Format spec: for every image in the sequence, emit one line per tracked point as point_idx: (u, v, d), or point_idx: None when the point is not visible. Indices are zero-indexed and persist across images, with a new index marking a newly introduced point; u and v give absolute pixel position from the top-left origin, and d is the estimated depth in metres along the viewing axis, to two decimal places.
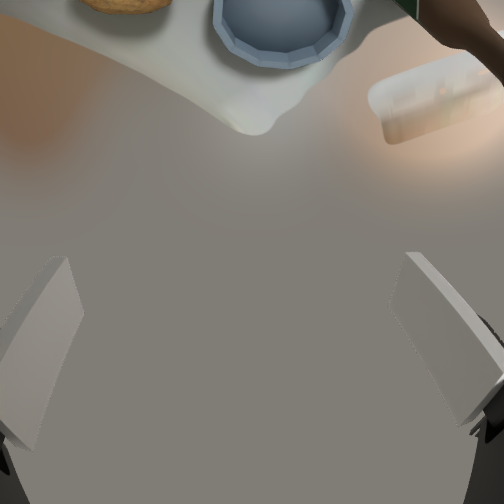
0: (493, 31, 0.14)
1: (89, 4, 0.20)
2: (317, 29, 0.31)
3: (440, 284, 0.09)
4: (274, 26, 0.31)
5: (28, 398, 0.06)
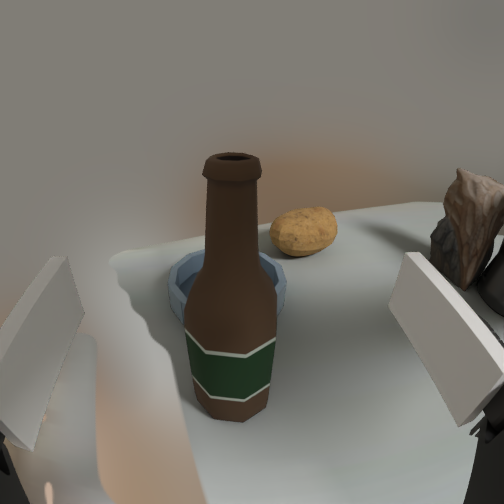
0: (256, 242, 0.21)
1: None
2: None
3: (440, 284, 0.09)
4: None
5: (28, 398, 0.06)
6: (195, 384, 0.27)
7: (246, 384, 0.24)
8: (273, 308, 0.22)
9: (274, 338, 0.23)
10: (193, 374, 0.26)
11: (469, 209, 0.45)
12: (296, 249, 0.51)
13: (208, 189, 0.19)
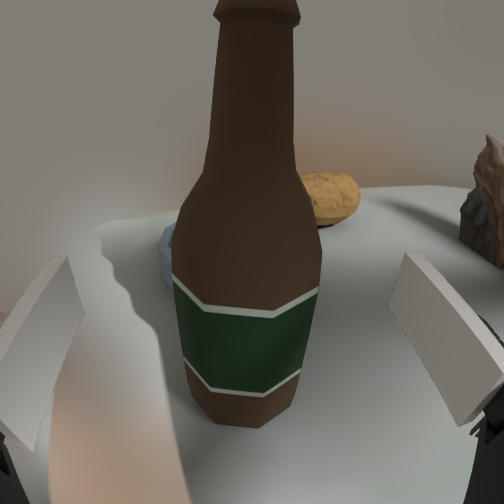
0: None
1: None
2: None
3: (440, 284, 0.09)
4: None
5: (28, 398, 0.06)
6: (188, 371, 0.18)
7: (269, 368, 0.15)
8: (318, 233, 0.14)
9: (316, 288, 0.14)
10: (185, 355, 0.18)
11: (502, 177, 0.36)
12: (315, 215, 0.43)
13: (221, 34, 0.10)
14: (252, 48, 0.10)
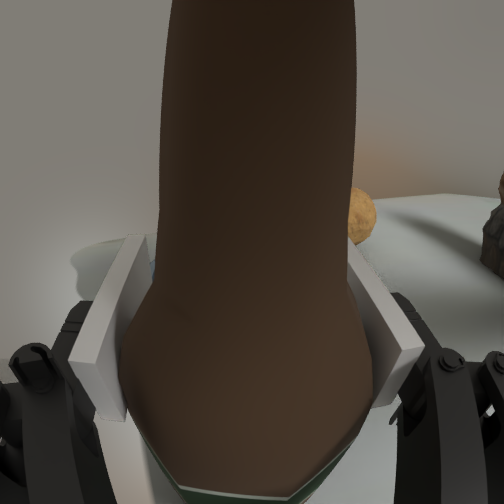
0: None
1: None
2: None
3: (355, 261, 0.10)
4: None
5: None
6: (172, 485, 0.12)
7: None
8: None
9: (354, 439, 0.08)
10: (166, 476, 0.11)
11: None
12: None
13: None
14: None
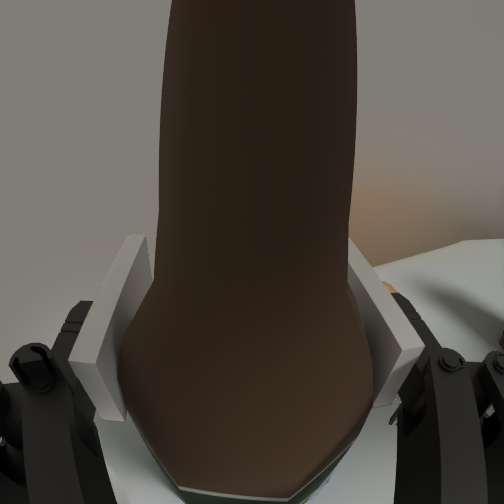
0: None
1: None
2: None
3: (355, 261, 0.10)
4: None
5: None
6: None
7: None
8: None
9: (354, 440, 0.08)
10: (166, 476, 0.11)
11: None
12: None
13: None
14: None
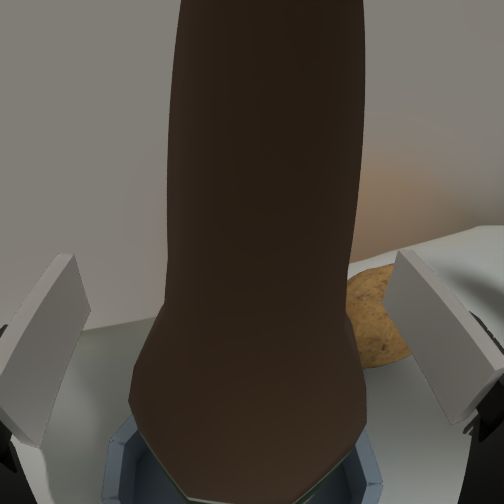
0: None
1: None
2: None
3: (433, 281, 0.09)
4: None
5: (36, 394, 0.06)
6: (176, 490, 0.12)
7: None
8: None
9: None
10: (171, 483, 0.11)
11: None
12: (380, 362, 0.22)
13: (183, 12, 0.04)
14: (266, 46, 0.03)
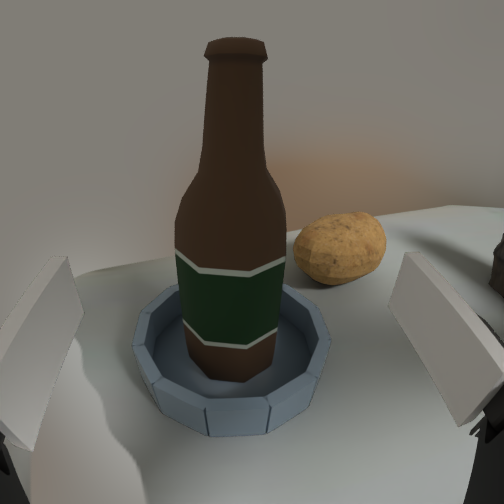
0: (262, 132, 0.17)
1: None
2: (175, 381, 0.23)
3: (440, 284, 0.09)
4: None
5: (28, 398, 0.06)
6: (186, 332, 0.23)
7: (249, 321, 0.20)
8: (282, 215, 0.18)
9: (284, 257, 0.19)
10: (184, 317, 0.22)
11: None
12: (334, 275, 0.33)
13: (209, 71, 0.15)
14: (231, 83, 0.15)
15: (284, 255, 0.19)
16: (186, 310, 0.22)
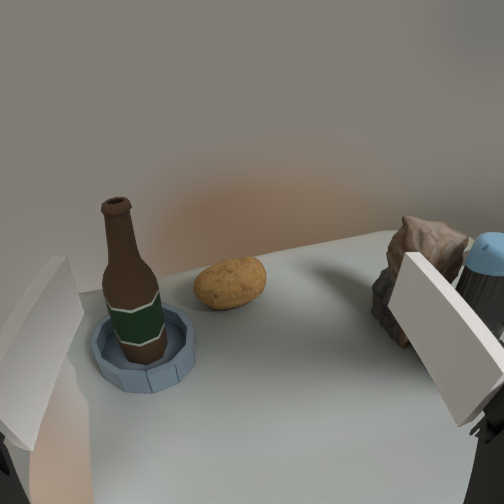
0: (133, 245, 0.35)
1: None
2: (112, 361, 0.41)
3: (440, 284, 0.09)
4: None
5: (28, 398, 0.06)
6: (116, 336, 0.42)
7: (137, 332, 0.38)
8: (146, 284, 0.37)
9: (150, 303, 0.38)
10: (114, 328, 0.41)
11: None
12: (217, 304, 0.52)
13: (104, 218, 0.33)
14: (112, 227, 0.33)
15: (150, 302, 0.38)
16: (113, 325, 0.40)
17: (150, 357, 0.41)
